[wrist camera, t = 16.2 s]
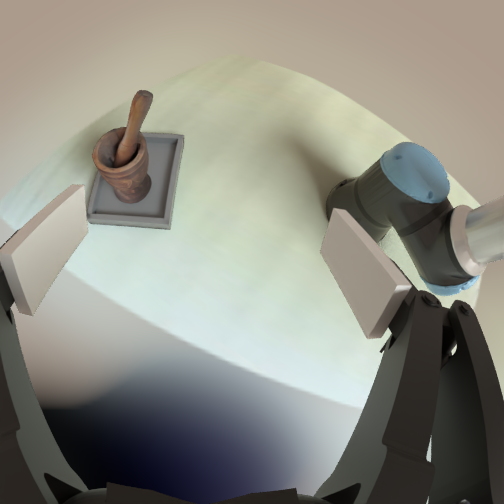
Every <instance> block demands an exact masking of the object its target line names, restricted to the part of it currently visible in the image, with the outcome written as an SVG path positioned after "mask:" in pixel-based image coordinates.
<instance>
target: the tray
mask: <svg viewBox="0 0 504 504" xmlns="http://www.w3.org/2000/svg"><path fill="white" fill-rule="evenodd" d="M142 134H143V136H144V137H145V140H146V144H147V150H148V154H149V165H148V171H147V174H148V175H149V176H150V178H151V181H152V185H151V188H150V191H149V193H148V194H147V196H146V197H145V198H144V199H143V200H141V201H140V202H137V203H132V204H129V203H124V202H122V201H120V200H119V199H117V197H116V194H115V191H114V187H112V186H111V185H109V184H108V183H107V181H106V180H105V179H104V178H103V177H102V175H101V173H100V172H99V170H98V171H97V175H96V178H95V182H94V186H93V189H92V193H91V197H90V201H89V206H88V210H87V215H86V216H87V220H88V221H89V222H90V223H91V224H101V225H116V226H129V227H142V228H155V229H168V230H170V229H171V221H172V213H173V206H174V199H175V193H176V187H177V180H178V174H179V169H180V163H181V157H182V152H183V147H184V135H177V134H159V133H142Z"/></svg>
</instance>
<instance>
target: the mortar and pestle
mask: <svg viewBox="0 0 504 504" xmlns="http://www.w3.org/2000/svg"><path fill="white" fill-rule="evenodd" d="M152 99H153V94H152V93H150V92H149V91H146V90H139V91H138V92H137V93H136V95H135V96H134V98H133V101H132V104H131V108H130V114H129V119H128V123H127V127H120V128H117V129H113V130H111V131H109V132H107V133H106V134H104V135H103V136H102V137H101V138H100V139H99V141H98V142H97V144H96V145H95V148H94V151H93V154H92V158H93V160H94V163H95V165H96V167H97V168H98V170H99V172H100V173H101V175H102V177H103V178H104V179H105V180H106V181H107V183H108V184H109V185H111V186H112V187H114V191H115V194H116V197H117V199H119V200H120V201H122V202H124V203H129V204H132V203H137V202H140V201H141V200H143V199H144V198H145V197H146V196H147V194H148V193H149V191H150V188H151V185H152V181H151V178H150V176H149V175H148V174H147V171H148V165H149V154H148V150H147V144H146V140H145V137H144V136H143V134H142V133H141V132H140V131H139V130H140V128H141V125H142V123H143V121H144V119H145V117H146V115H147V113H148V111H149V109H150V106H151V103H152Z"/></svg>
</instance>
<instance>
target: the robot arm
mask: <svg viewBox="0 0 504 504" xmlns="http://www.w3.org/2000/svg"><path fill="white" fill-rule="evenodd" d="M449 191H450V183H449V180H448V179H447V173H446V171H445V169H444V168H443V166H442V165H441V163H440V162H439V161H438V159H437V158H436V157H435V156H434V155H433V154H432V153H431V152H430V151H428V150H427V149H425V148H424V147H422V146H419V145H417V144H415V143H412V142H402V143H399V144H397V145H396V146H394V147H393V148H392V149H390V150H388V151H386V152H385V153H384V154H383V155H382V157H381V158H380V159H379V160H378V161H377V162H375V163H374V164H373V165H372V166H371V167H370V168H369V169H368V170H366V171H365V172H364V173H363V174H362V175H361V176H359V177H355V178H351V179H347V180H344V181H342V182H341V183H339V184H338V185H337V186H336V187H335V188H334V189H333V190H332V191H331V192H330V194H329V196H328V199H327V215H328V219H329V224H328V228H327V231H326V234H325V237H324V240H323V243H322V246H321V250H320V253H321V255H322V257H323V258H324V260H325V262H326V264H327V265H328V267H329V269H330V271H331V273H332V274H333V276H334V278H335V280H336V281H337V283H338V285H339V287H340V289H341V291H342V292H343V294H344V296H345V298H346V300H347V302H348V304H349V305H350V307H351V309H352V311H353V313H354V315H355V317H356V319H357V321H358V323H359V324H360V326H361V328H362V330H363V332H364V334H365V336H366V338H367V339H373V338H381V337H382V336H383V334H384V333H385V331H386V330H387V328H388V327H389V329H390V331H391V333H392V334H391V336H390V337H389V339H388V340H387V342H386V343H385V345H384V346H383V348H382V349H381V350H380V352H381V353H382V352H383V351H384V354H383V357H382V360H381V363H380V366H379V369H378V372H377V375H376V378H375V380H374V383H373V386H372V389H371V391H370V394H369V396H368V399H367V402H366V404H365V406H364V409H363V411H362V414H361V416H360V419H359V421H358V423H357V425H356V428H355V430H354V432H353V434H352V436H351V438H350V441H349V443H348V445H347V447H346V449H345V451H344V453H343V455H342V457H341V459H340V461H339V462H338V465H337V466H336V468H335V470H334V472H333V473H332V474H331V476H330V477H329V478H328V479H327V480H326V481H325V482H324V483H323V484H322V486H321V487H320V488H319V489H318V491H317V492H316V494H315V495H314V497H312V496H308V495H302V494H297V491H296V488H293V489H286V490H279V491H270V492H262V493H261V492H260V493H251V494H247V495H243V496H240V497H236V498H232V499H228V500H225V501H220V502H216V503H211V504H426V502H427V499H428V496H429V501H428V504H504V400H503V396H502V392H501V388H500V384H499V380H498V377H497V373H496V370H495V367H494V363H493V360H492V357H491V354H490V351H489V348H488V346H487V343H486V340H485V337H484V335H483V332H482V329H481V327H480V324H479V322H478V319H477V317H476V315H475V313H474V311H473V309H472V308H471V307H470V305H469V304H467V303H466V302H463V301H460V300H455V301H454V303H453V304H452V306H451V307H450V309H449V308H445V307H442V305H441V302H440V301H439V300H438V299H437V298H436V297H435V296H434V295H433V294H431V293H429V292H427V291H423V290H420V291H418V290H417V289H416V287H415V286H414V285H413V284H412V282H411V281H410V280H409V279H408V277H407V276H406V275H404V273H403V271H402V270H400V268H399V267H398V265H397V264H396V263H395V262H394V261H393V260H391V259H390V258H389V257H388V256H387V255H386V254H385V253H384V251H383V250H382V249H381V248H380V247H379V246H378V245H377V243H378V242H379V241H381V240H382V239H383V238H384V236H385V235H386V233H387V232H388V231H389V229H390V228H391V227H392V226H393V227H394V229H395V230H396V232H397V233H398V235H399V237H400V239H401V241H402V242H403V244H404V246H405V248H406V250H407V251H408V253H409V255H410V257H411V259H412V261H413V263H414V265H415V267H416V269H417V271H418V273H419V275H420V277H421V279H422V280H423V281H424V283H425V284H426V286H427V288H428V289H429V290H430V291H431V292H432V293H434V294H436V295H440V296H450V295H454V294H457V293H460V291H461V290H466V289H468V288H469V287H471V286H472V285H473V284H474V283H475V282H476V281H477V280H478V278H479V276H480V274H481V273H483V271H484V270H485V268H486V266H487V263H490V262H494V261H498V260H501V259H504V196H502V197H500V198H497V199H495V200H493V201H491V202H489V203H487V204H485V205H483V206H480V207H478V208H476V209H474V210H473V209H472V208H470V207H469V206H466V205H460V206H457V207H455V208H453V207H452V205H451V203H450V202H449V200H448V198H447V195H448V194H449ZM87 233H88V225H87V216H86V205H85V191H84V185H71V186H70V187H68V188H67V189H66V190H65V191H63V192H62V193H61V194H60V195H58V196H57V197H56V198H55V199H53V200H52V201H51V202H50V203H49V204H48V205H46V206H45V207H44V208H43V209H42V210H41V211H39V212H38V213H37V214H36V215H35V216H34V217H33V218H32V219H31V220H29V221H28V222H27V223H26V224H25V225H24V226H23V227H22V228H21V229H19V230H17V231H16V232H15V233H14V234H13V235H12V236H11V238H9V239H8V240H7V241H6V243H4V244H3V246H2V247H1V248H0V504H195V503H191V502H188V501H184V500H180V499H177V498H173V497H170V496H167V495H164V494H161V493H158V492H155V491H152V490H146V489H139V488H133V487H128V486H122V485H118V484H113V483H109V482H107V488H102V489H94V490H88V489H87V487H86V486H85V485H84V483H83V482H82V480H81V479H80V478H79V477H78V476H77V474H76V473H75V472H74V471H73V470H72V469H71V467H70V466H69V465H68V463H67V462H66V460H65V458H64V457H63V455H62V453H61V451H60V449H59V447H58V445H57V443H56V441H55V439H54V437H53V435H52V433H51V431H50V429H49V427H48V425H47V422H46V420H45V418H44V415H43V413H42V411H41V408H40V406H39V403H38V400H37V398H36V395H35V392H34V389H33V387H32V384H31V381H30V378H29V375H28V372H27V368H26V365H25V362H24V358H23V354H22V351H21V347H20V343H19V339H18V334H17V330H16V325H15V320H14V315H13V313H12V310H11V308H10V307H11V306H12V304H13V303H14V301H15V303H16V306H17V308H18V310H19V312H20V313H22V314H26V315H31V316H33V315H34V314H35V312H36V310H37V308H38V307H39V305H40V303H41V302H42V300H43V298H44V296H45V295H46V293H47V291H48V290H49V288H50V287H51V285H52V284H53V282H54V280H55V279H56V277H57V275H58V274H59V273H60V271H61V270H62V268H63V267H64V265H65V264H66V262H67V261H68V259H69V258H70V257H71V255H72V254H73V252H74V251H75V250H76V248H77V247H78V245H79V244H80V243H81V241H82V240H83V239H84V237H85V236H86V235H87ZM456 344H457V349H456V352H455V353H454V355H452V353H451V351H452V349H453V348H454V347H455V345H456ZM430 438H432V439H431V442H432V443H431V445H432V446H431V462H429V461H427V459H426V456H427V451H428V446H429V442H430Z"/></svg>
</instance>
